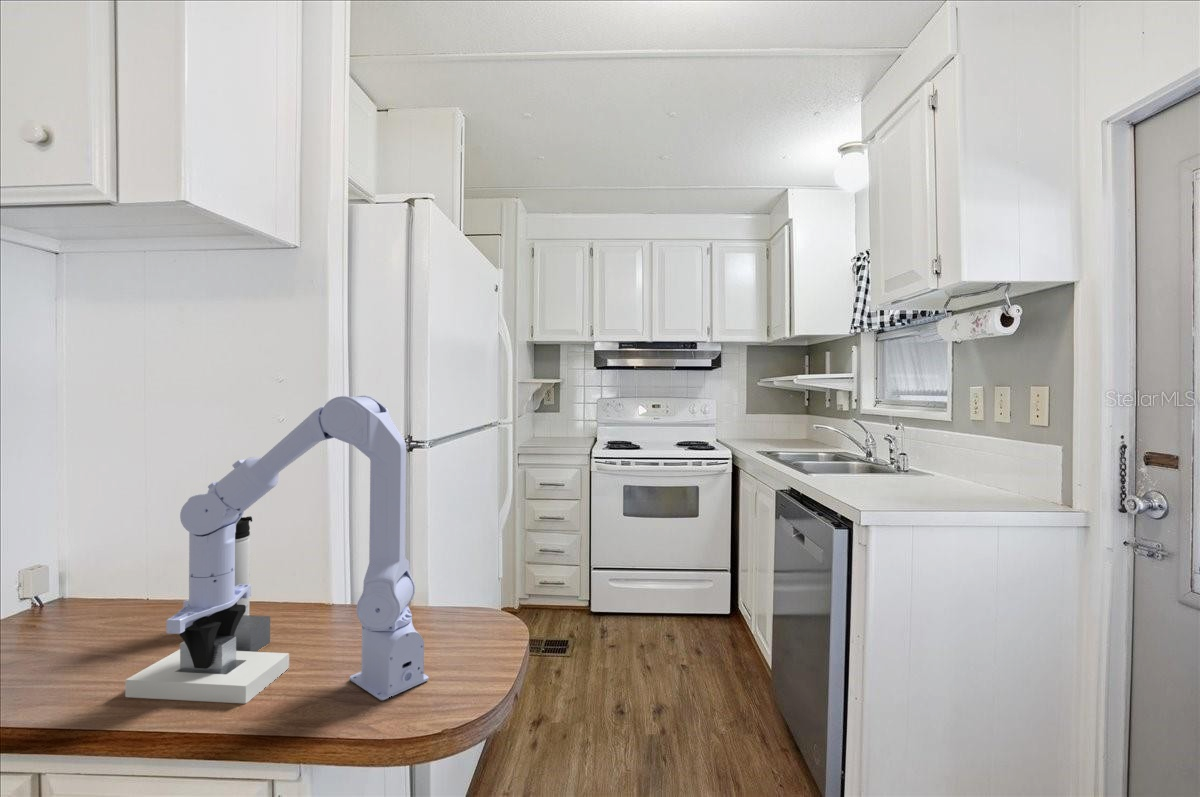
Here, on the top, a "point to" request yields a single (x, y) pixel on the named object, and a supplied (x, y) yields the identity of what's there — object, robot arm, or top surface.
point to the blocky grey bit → (221, 657)
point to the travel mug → (242, 557)
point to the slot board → (208, 679)
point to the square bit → (252, 633)
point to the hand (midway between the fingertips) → (211, 661)
